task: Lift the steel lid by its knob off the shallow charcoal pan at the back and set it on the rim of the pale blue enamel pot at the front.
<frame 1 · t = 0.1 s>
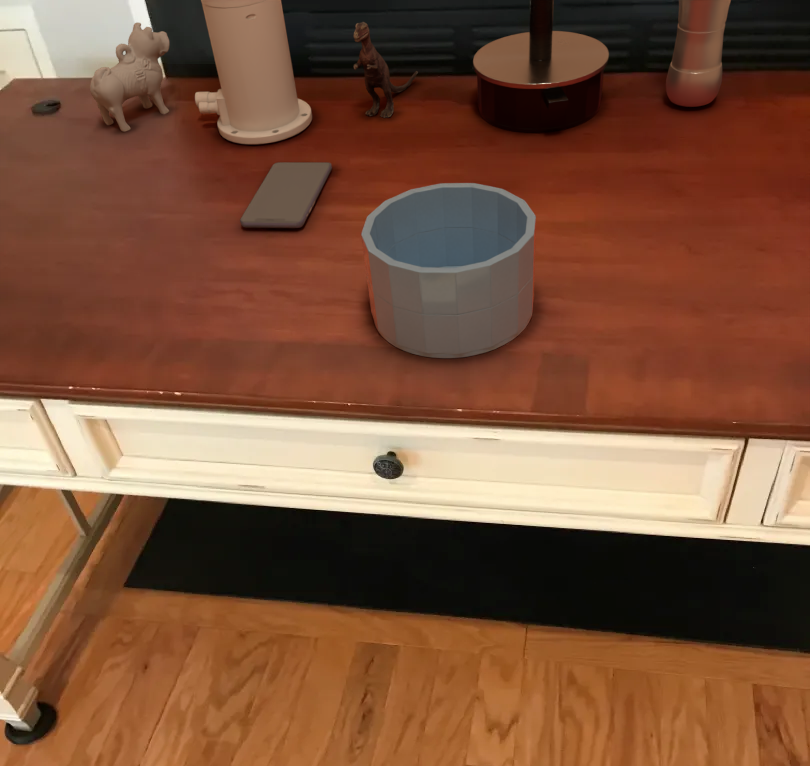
pan: (539, 105, 117), on the table
lid: (540, 61, 113), point 5 cm above the table, touching pan
dinosaur model: (390, 104, 122), on the table
plastic bottle: (690, 104, 114), on the table
smartphone: (288, 199, 106), on the table
pot: (452, 309, 88), on the table
dog figurine: (143, 115, 126), on the table
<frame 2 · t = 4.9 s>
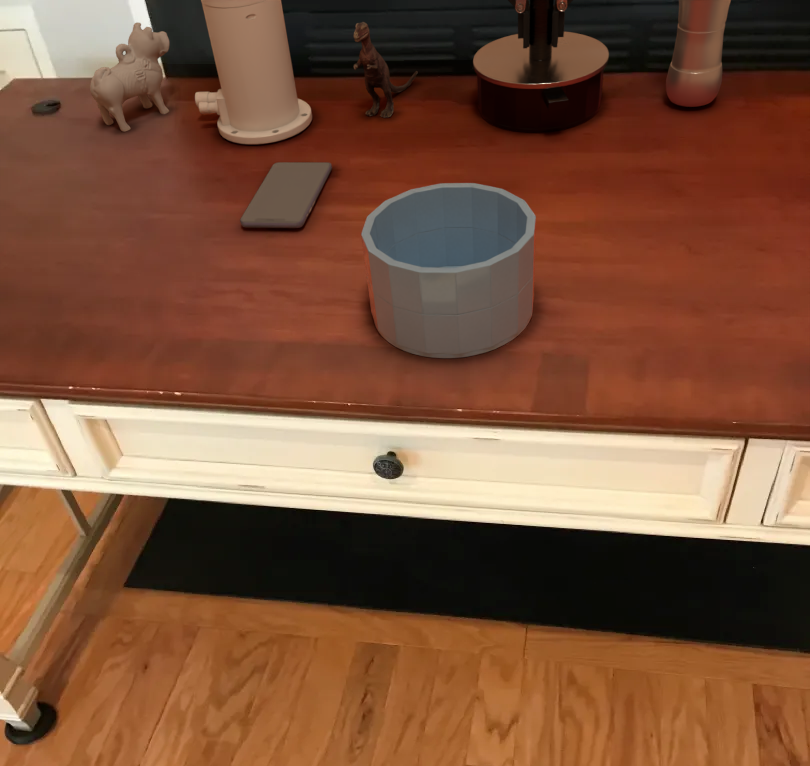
hand: (540, 42, 111), 8 cm above the table, tool pointing down, fingers closed on lid, 2 cm apart
lid: (540, 61, 113), point 5 cm above the table, touching gripper, pan
everything else where it was.
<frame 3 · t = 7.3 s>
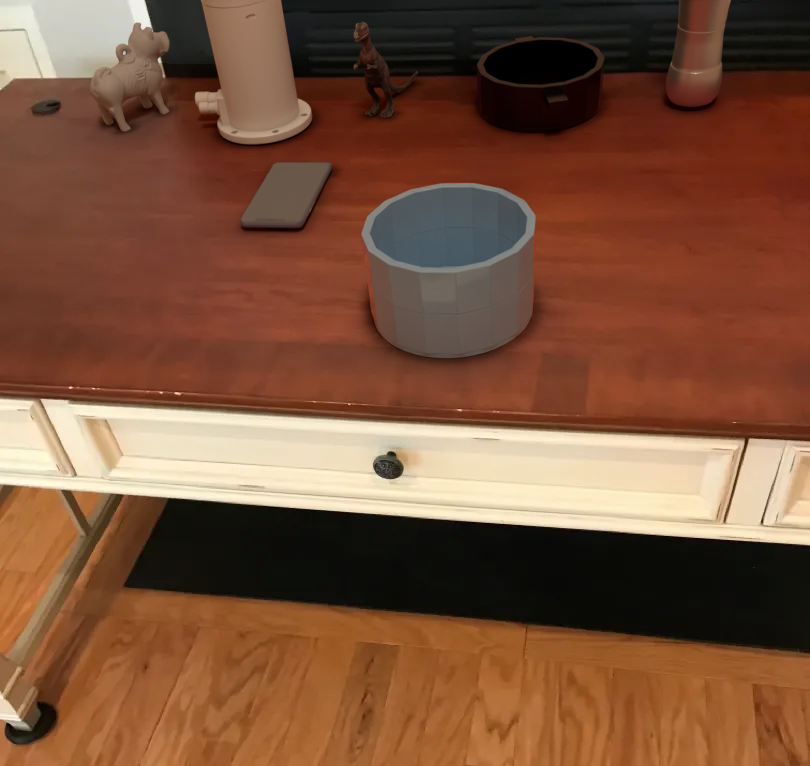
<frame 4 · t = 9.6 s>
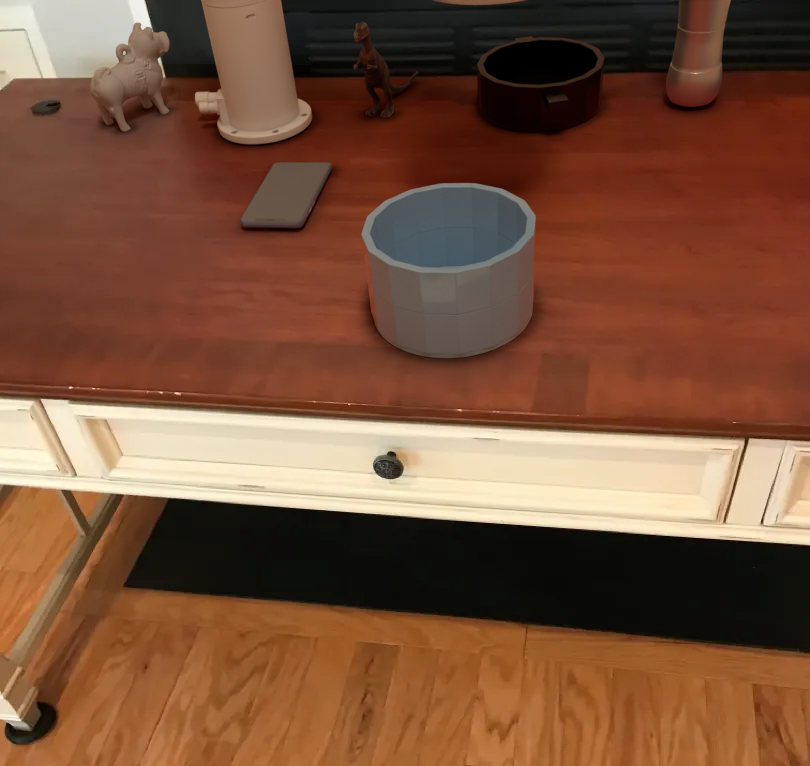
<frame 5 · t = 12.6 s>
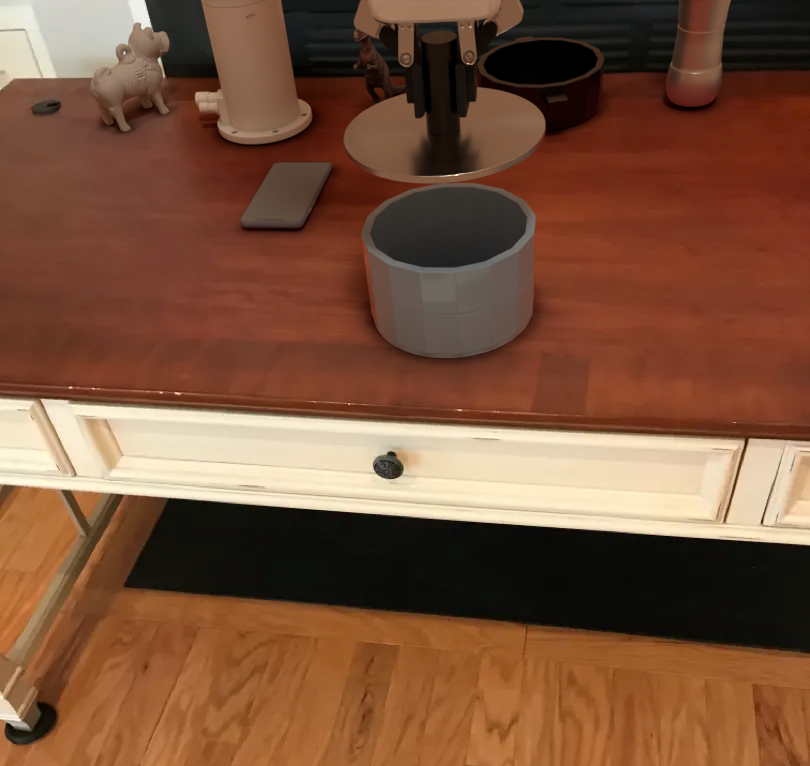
hand: (442, 108, 74), 19 cm above the table, tool pointing down, fingers closed on lid, 2 cm apart
lid: (444, 135, 75), point 17 cm above the table, touching gripper
everything else where it was.
when the fingers open (11 cm above the table, at t = 14.7 s): lid stays where it is, resting on pot.
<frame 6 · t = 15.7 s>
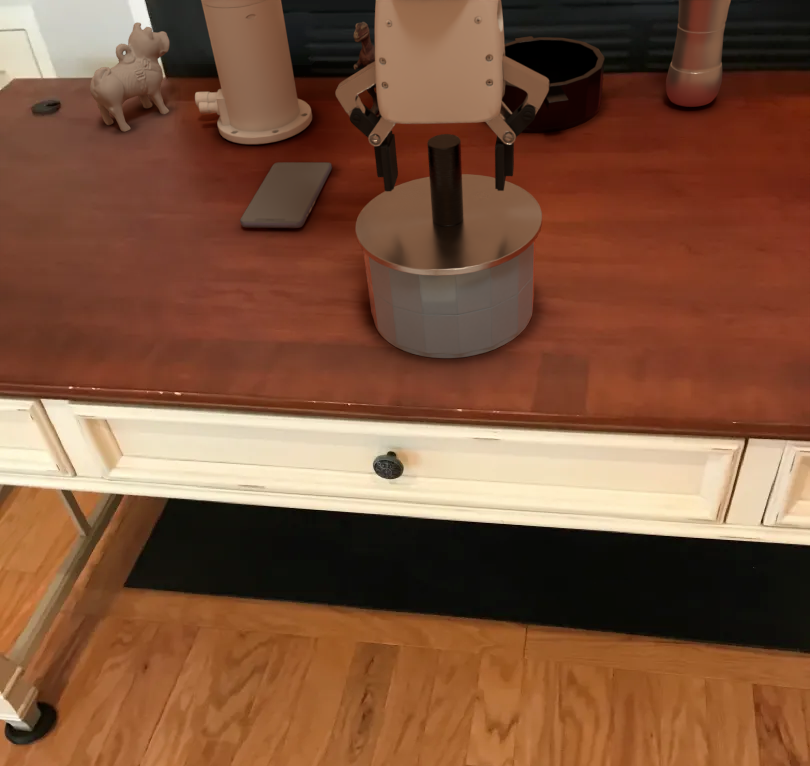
hand: (445, 183, 78), 13 cm above the table, tool pointing down, fingers open, 9 cm apart
lid: (448, 224, 81), point 9 cm above the table, touching pot
everything else where it was.
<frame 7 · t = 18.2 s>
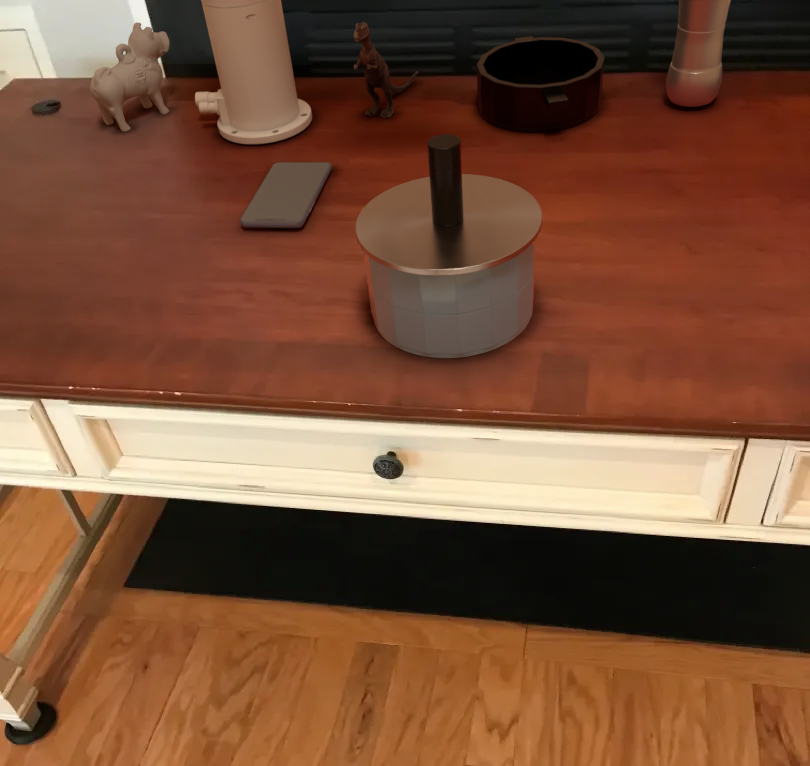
nothing on the table moved.
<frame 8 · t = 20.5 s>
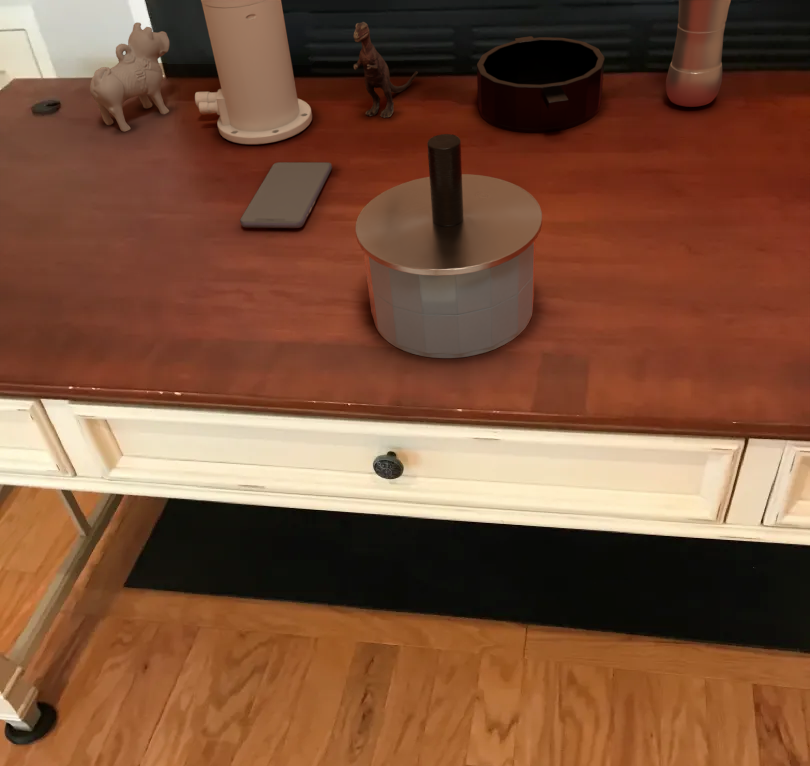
nothing on the table moved.
at the end: lid 0.0 cm off-centre on the pot, point 9.0 cm above the pot's base; lid tilted 0° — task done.
